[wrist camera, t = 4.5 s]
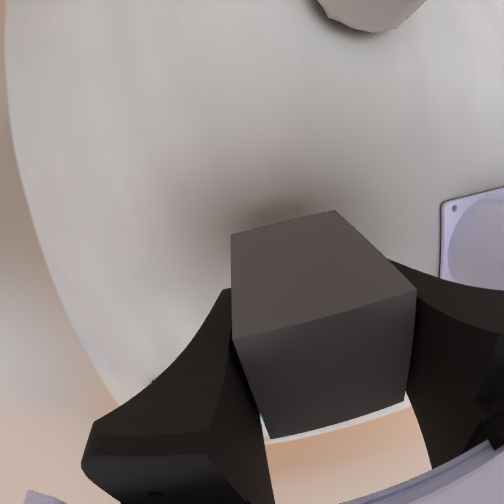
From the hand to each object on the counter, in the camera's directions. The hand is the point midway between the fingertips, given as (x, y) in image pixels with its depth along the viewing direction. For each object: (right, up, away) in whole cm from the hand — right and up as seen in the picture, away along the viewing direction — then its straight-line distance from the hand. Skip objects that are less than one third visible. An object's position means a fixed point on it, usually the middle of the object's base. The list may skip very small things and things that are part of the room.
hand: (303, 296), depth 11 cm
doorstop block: (0, +1, +2) cm, 2 cm away
